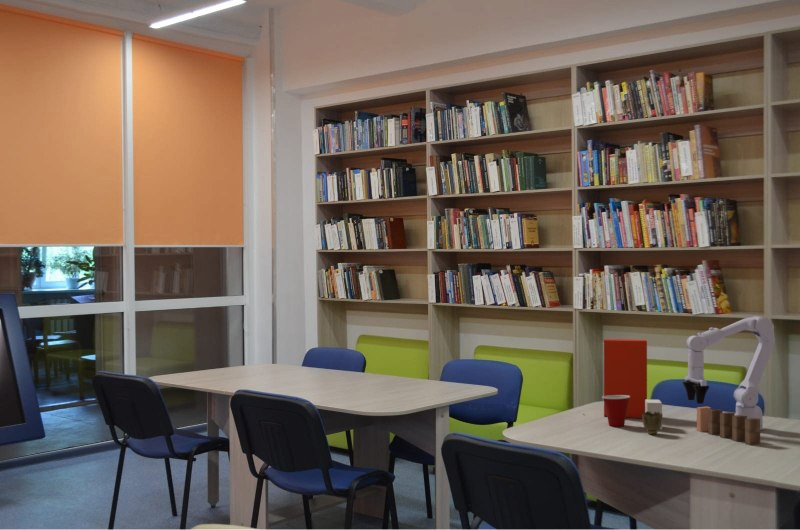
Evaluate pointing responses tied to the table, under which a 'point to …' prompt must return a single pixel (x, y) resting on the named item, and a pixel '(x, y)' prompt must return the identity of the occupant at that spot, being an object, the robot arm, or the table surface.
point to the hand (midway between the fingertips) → (695, 401)
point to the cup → (652, 422)
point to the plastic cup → (616, 409)
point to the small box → (653, 407)
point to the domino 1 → (702, 418)
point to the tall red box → (626, 373)
